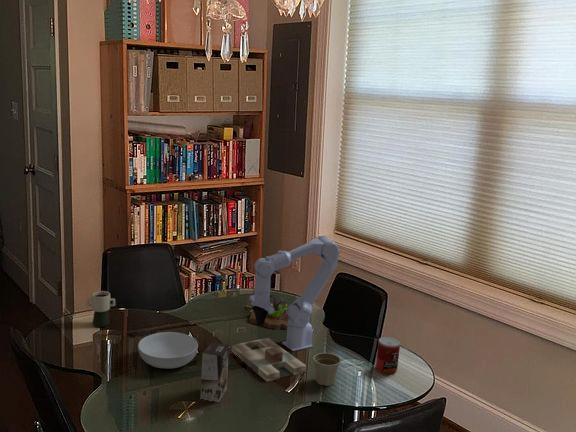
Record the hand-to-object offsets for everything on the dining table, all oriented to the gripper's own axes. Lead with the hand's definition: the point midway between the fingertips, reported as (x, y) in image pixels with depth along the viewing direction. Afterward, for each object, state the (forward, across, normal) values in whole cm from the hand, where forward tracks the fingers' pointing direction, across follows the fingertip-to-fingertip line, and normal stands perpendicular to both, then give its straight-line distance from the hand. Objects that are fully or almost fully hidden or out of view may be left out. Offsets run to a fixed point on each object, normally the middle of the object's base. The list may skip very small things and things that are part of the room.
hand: (260, 324), depth 246 cm
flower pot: (+10, +33, +7) cm, 35 cm away
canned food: (+10, +35, +33) cm, 49 cm away
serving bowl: (+10, -4, -35) cm, 37 cm away
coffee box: (+10, +24, -31) cm, 40 cm away
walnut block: (+7, +15, -3) cm, 17 cm away
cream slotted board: (+9, +11, -3) cm, 15 cm away
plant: (+10, -22, +20) cm, 31 cm away
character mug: (+10, -45, -46) cm, 65 cm away
